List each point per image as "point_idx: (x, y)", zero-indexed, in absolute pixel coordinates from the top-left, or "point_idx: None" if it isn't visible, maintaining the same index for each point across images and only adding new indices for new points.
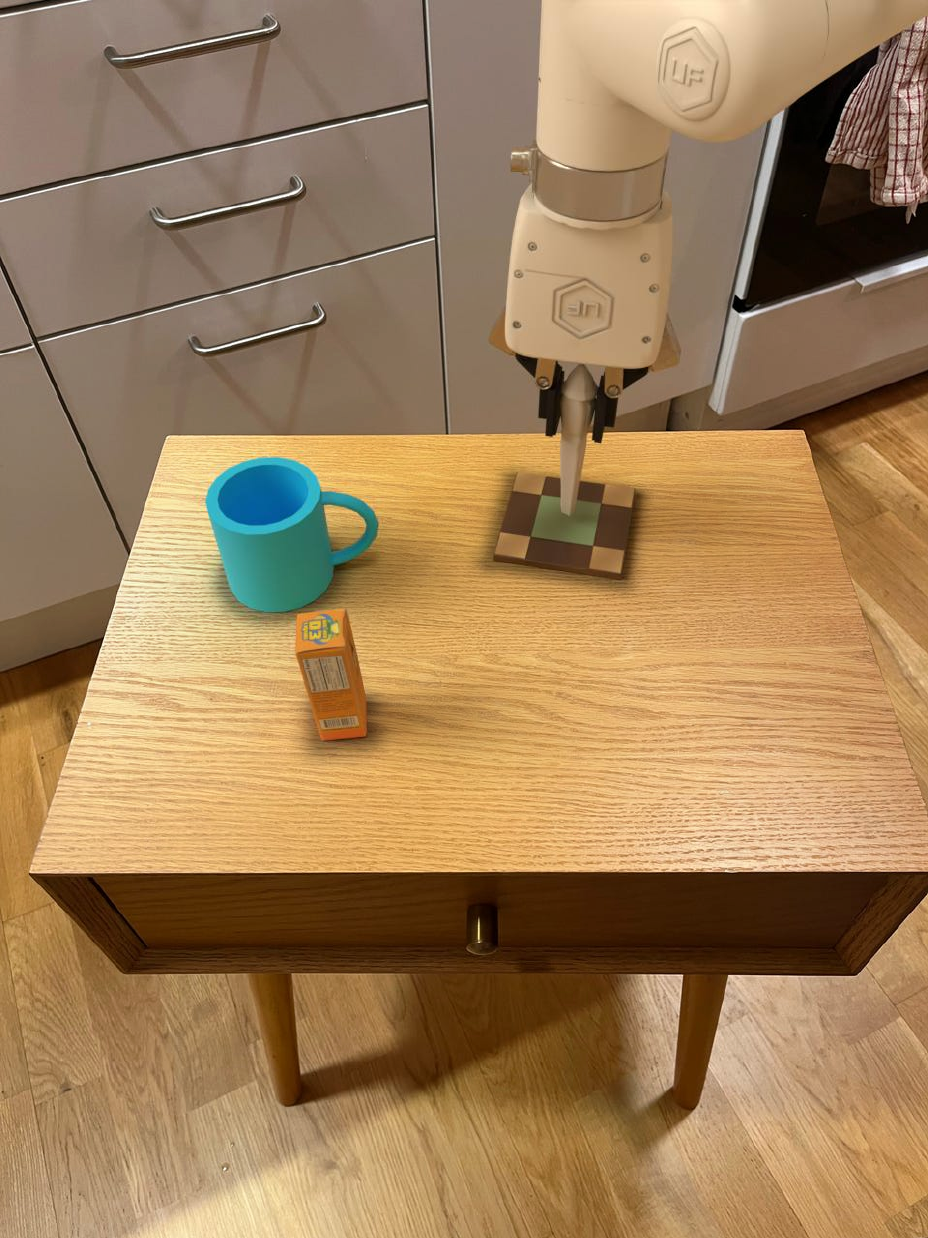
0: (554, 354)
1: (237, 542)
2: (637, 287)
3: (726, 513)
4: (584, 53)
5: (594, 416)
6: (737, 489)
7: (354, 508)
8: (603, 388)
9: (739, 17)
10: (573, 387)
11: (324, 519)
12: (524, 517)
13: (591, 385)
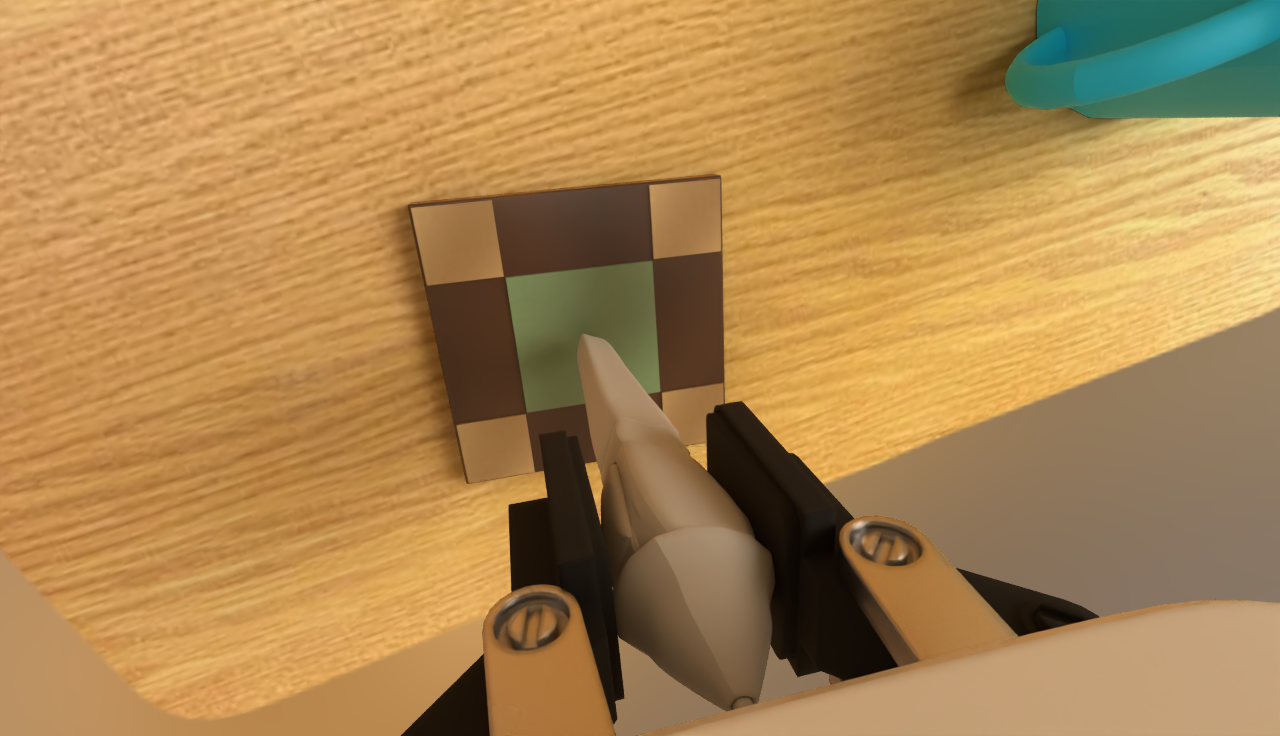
0: (1060, 680)
1: None
2: None
3: (241, 493)
4: None
5: (591, 494)
6: (246, 568)
7: (1161, 37)
8: (590, 621)
9: None
10: (731, 576)
11: (1206, 2)
12: (680, 315)
13: (652, 620)
